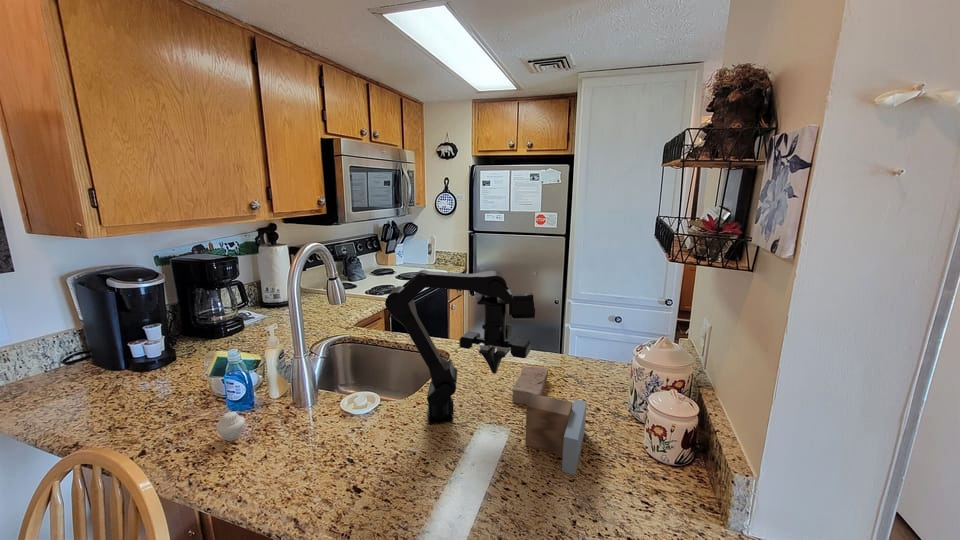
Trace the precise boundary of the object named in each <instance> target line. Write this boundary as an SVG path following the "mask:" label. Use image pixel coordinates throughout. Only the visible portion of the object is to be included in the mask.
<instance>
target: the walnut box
mask: <svg viewBox="0 0 960 540" xmlns="http://www.w3.org/2000/svg"><path fill="white" fill-rule="evenodd" d="M572 407H573V401H569V400H564V399H560V398H555V397H550V396H546V395H542V396H541V395H536V394H532V396H531V398H530V400H529V402H528V404H527V405H526V414H525V416H526V417H525V445H524V446H526V447H530V448H532V449H537V450H540V449H541V451H544V450H545V451H546V452H548V453H552V454H555V453H556V455H560V456H563V444H564V435H565V431H566V428H567V424H568V421H569V417H570V414H571V411H572Z"/></svg>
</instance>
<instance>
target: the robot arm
mask: <svg viewBox="0 0 960 540" xmlns="http://www.w3.org/2000/svg"><path fill="white" fill-rule="evenodd" d="M426 288H428V289H442V290H443V289H444V290H456V291H458V290H459V291H470V292H474V293H477V294H479V295H480V296H479V297H477V298H476V305H479V306H480V305H483V324H482V326H481V327H482V328H481V329H482V330H483V333H484V335H483V337H481V333H479V332H476V331H468V330H467V332H466V333H464V334H463V335H462V336H461V337H459V340H458V341H459V343H458V345H459V348H461V349H465V350H470V349H471V348H472V347H473V345H478V346H479V349H478V353H479V354H480V355H482V357H483V358H484V360H485V361H486V363H487V365H488V367H489V370H490V371H491V372H492V374H493V375H494V374H495V375H496V374H497V372H498V371H499V367H500V364H501V362H502V359H503V358H505V357H506V356H507V355H508V353H509V352H510V355H512V357H514V358H520V359H527V357H528V355H529V354H530V352H531V351H532V343H531V341H530V340H528V339H522V338H516V339H515V340H514V342H511V341H507V340H508V339H510V337H512V331H513V330H512V329H513V325H512V324H508V320H507V319H506V310H507V315H508V316H509V317H510V318H511V319H512V320H534V319H535V316H536V308H535V301H534V300H535V299H534V294H533V292H525V293H512V290H511V288H510V287H508V286H507V281H506V279H505V276H504V275H503V274H502V273H501V272H500V271H499V270H486V271H484V270H483V271H479V272H475V273H463V272H462V273H459V272H450V271H449V272H446V271H445V272H444V271H432V270H428V269H427V270H426V269H422V270H419V271H418V272H417V273H416V275H414V276H413V277H411V278H410V279H409V280H407V282H405V283H404V284H403V285H402V286H401V285H400V286H399V285H398V286H395V287H394V288H393V289H392V290H391V291H390V293H388V296H386V299H385V301H384V305H385V308H386V310H387V311H388V312H389V313H390V315H391V316H392V318H394V319H395V320H396V321H397V322H399V323H400V324H402V326H403V327H404V329H405V331H406V333H408V335H409V338H411V341H412V343H413V344H414V346H415V347H416V349H417V351H418V352H419V355H420V356H421V358H422V360H423V361H424V363H425V365H426V366H427V369H428V370H429V374H430V375H429V376H430V383H429V386H428V391H427V396H426V401H427V409H426V413H427V417H428V423H429V425H434V424H440V423H446V422H447V423H449V422H453V420H454V418H453V416H454V413H455V412H454V410H455V409H454V400H453V395H454V394H455V392H456V390H457V385H458V384H457V381H458V369H457V368H456V367H455V366H454V363H453V361H452V359H449V360H446V359H444V358H443V357H442V356H441V354H440V352H439V351H438V349H437V346H436V345H435V343H434V342H433V340H432V338H431V336H430V335H429V333H428V331H427V330H426V327H425V326H424V324H423V322H422V320H421V319H420V317H419V315H418V313H417V307H416V302H415V300H414V299H415V298H416V297H417V296H418V295H419V294H420V293H421V292H422V291H423V290H425V289H426ZM506 305H507V306H506Z"/></svg>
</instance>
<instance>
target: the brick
mask: <svg viewBox="0 0 960 540" xmlns="http://www.w3.org/2000/svg"><path fill="white" fill-rule="evenodd" d="M548 375H549V369H547V368H545V367H539V366H538V367H537V366H526V365H524V366H523V367H522V368H521V372H520V374H519V376H518V377H517V380H516V382H515V383H514V385H513V388H512V399H511V400H512V402H513V403H516V404H521V405H526V406H527V404H528V402H529V400H530V398H531V396H532V394H536V395H541V396H543V393H544V390H545V388H546V385H547V381H548V377H549V376H548Z"/></svg>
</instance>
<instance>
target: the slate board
mask: <svg viewBox="0 0 960 540" xmlns="http://www.w3.org/2000/svg"><path fill="white" fill-rule="evenodd" d="M573 400H574V401H573V403H572V411H571V414H570V417H569V421H568V424H567V428H566V431H565V435H564V444H563V455H562V462H561V472H563V473H565V474H570V475H574V476H576V474H577V470H578V465H579V460H580V456H581V451H582V446H583V442H584V437H585V431H586V417H587V416H586V414H587V404H588V402H587V401H585V400H579V399H573Z"/></svg>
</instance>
